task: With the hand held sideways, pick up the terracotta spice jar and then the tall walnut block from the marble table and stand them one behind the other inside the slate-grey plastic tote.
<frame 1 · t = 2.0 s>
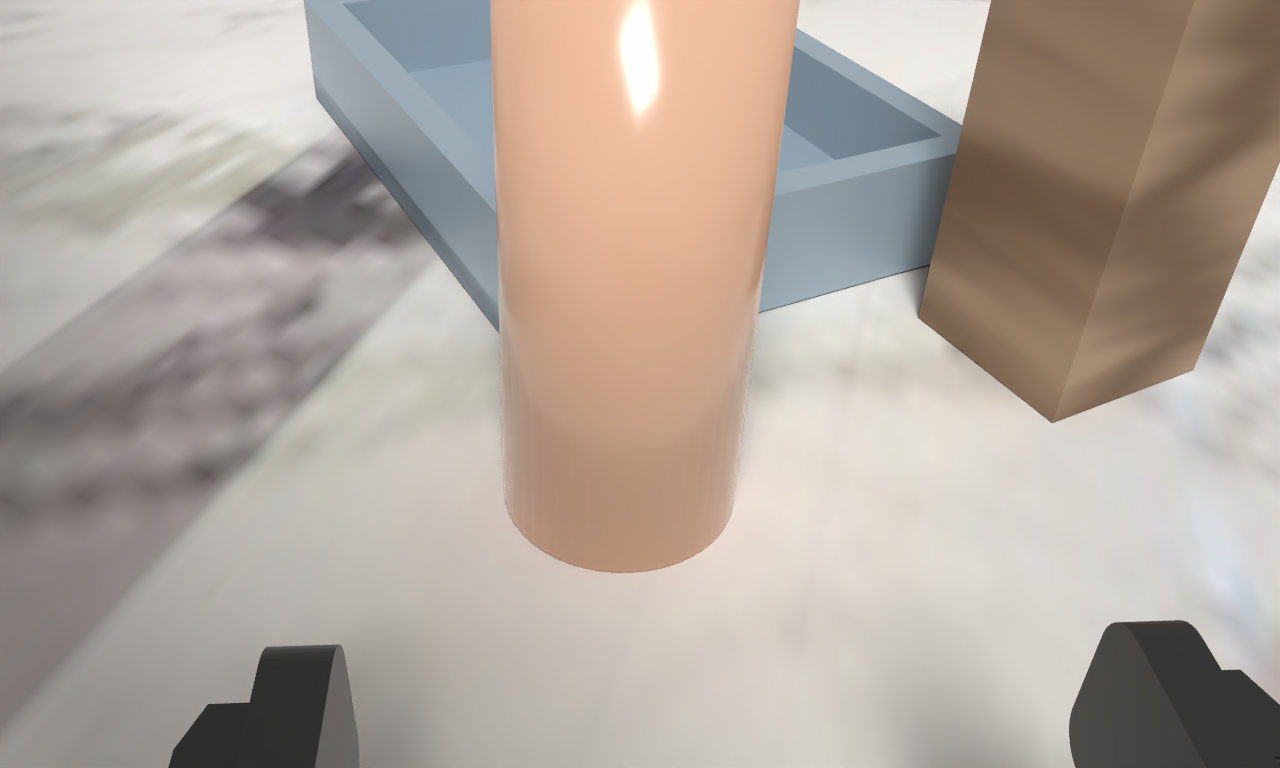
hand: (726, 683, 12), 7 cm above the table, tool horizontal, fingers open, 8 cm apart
tote: (613, 168, 38), on the table
terracotta jar: (619, 488, 25), on the table
walnut block: (1052, 343, 31), on the table
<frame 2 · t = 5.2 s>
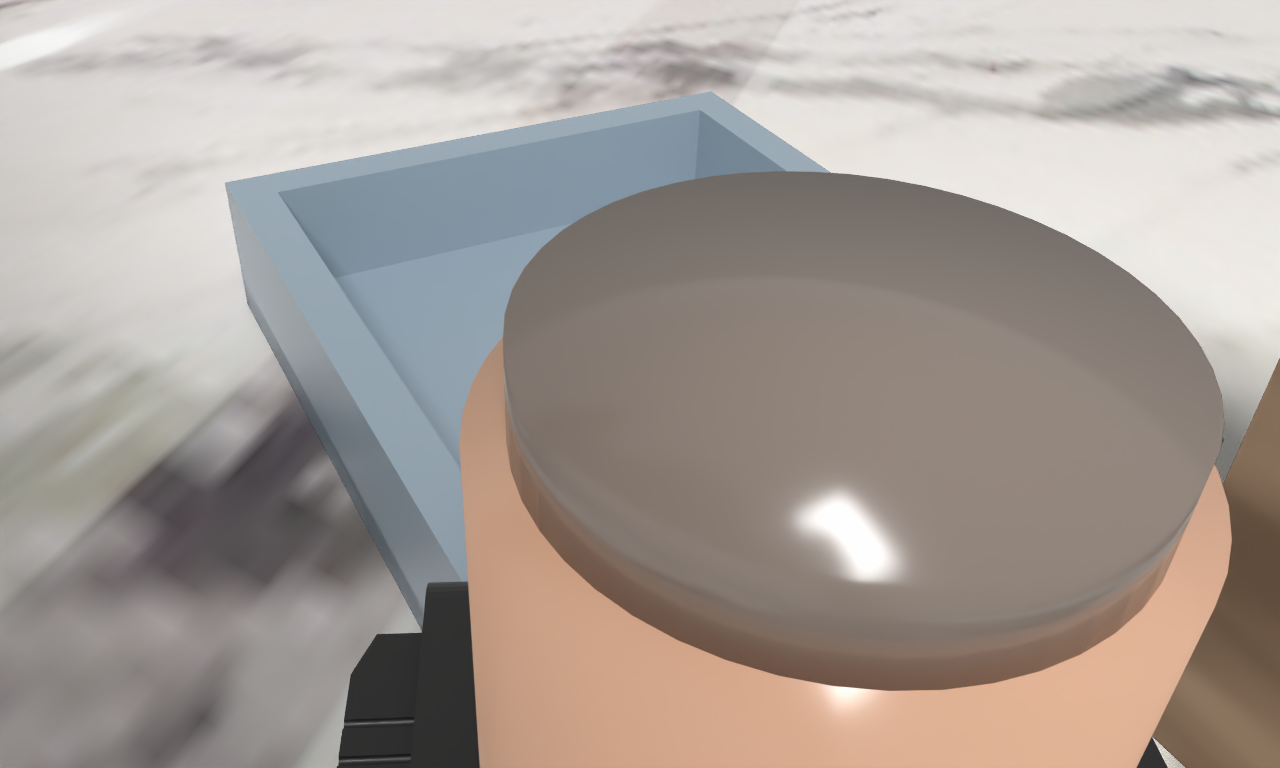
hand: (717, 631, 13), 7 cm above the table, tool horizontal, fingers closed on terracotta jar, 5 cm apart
tote: (651, 421, 27), on the table
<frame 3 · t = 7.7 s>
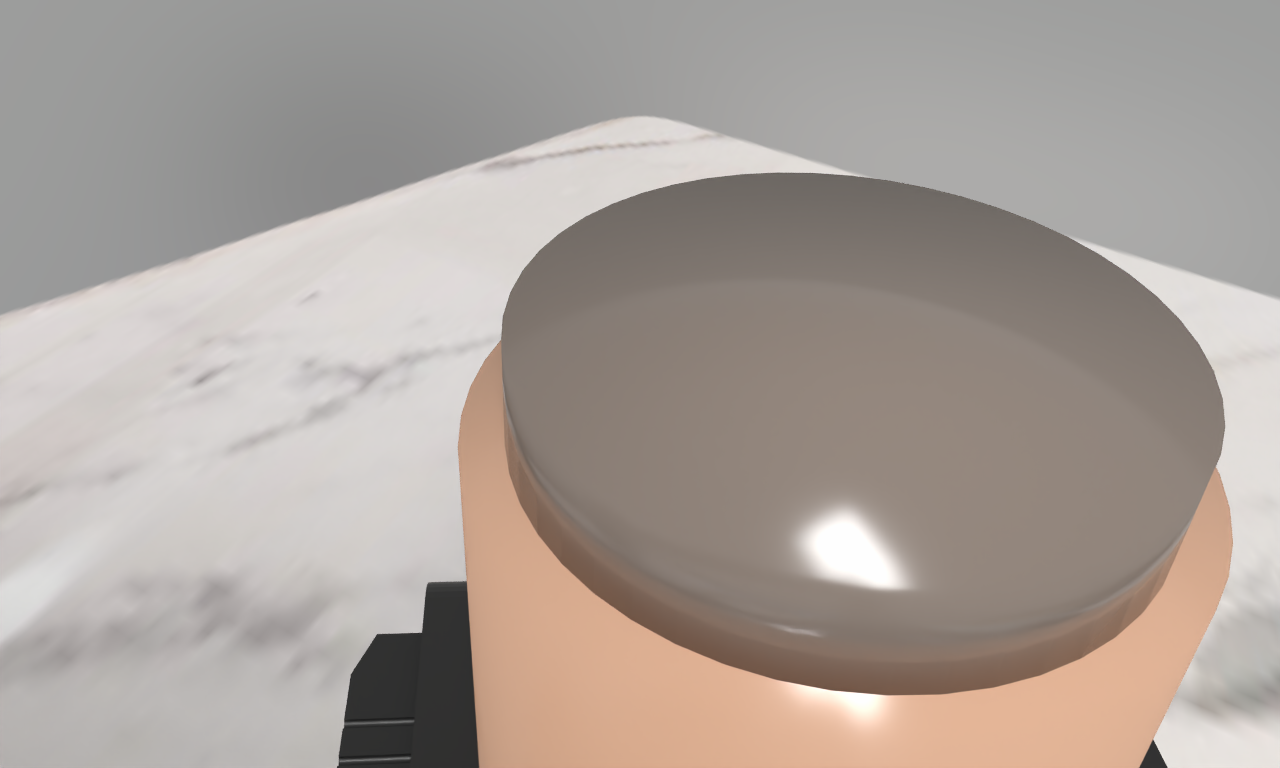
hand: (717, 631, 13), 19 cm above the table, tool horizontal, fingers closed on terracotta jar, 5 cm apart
when the fingers open (9 cm above the table, at t = 10.1 s): terracotta jar drops 1 cm, resting on tote.
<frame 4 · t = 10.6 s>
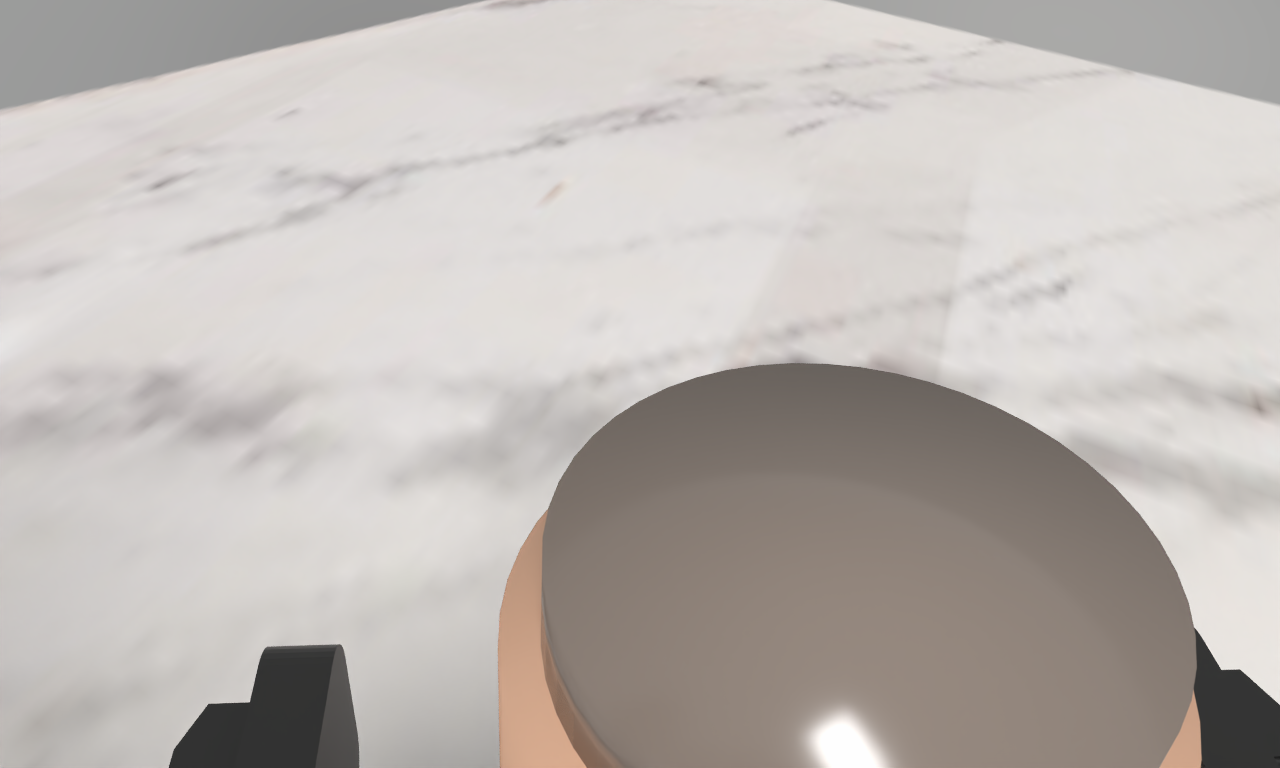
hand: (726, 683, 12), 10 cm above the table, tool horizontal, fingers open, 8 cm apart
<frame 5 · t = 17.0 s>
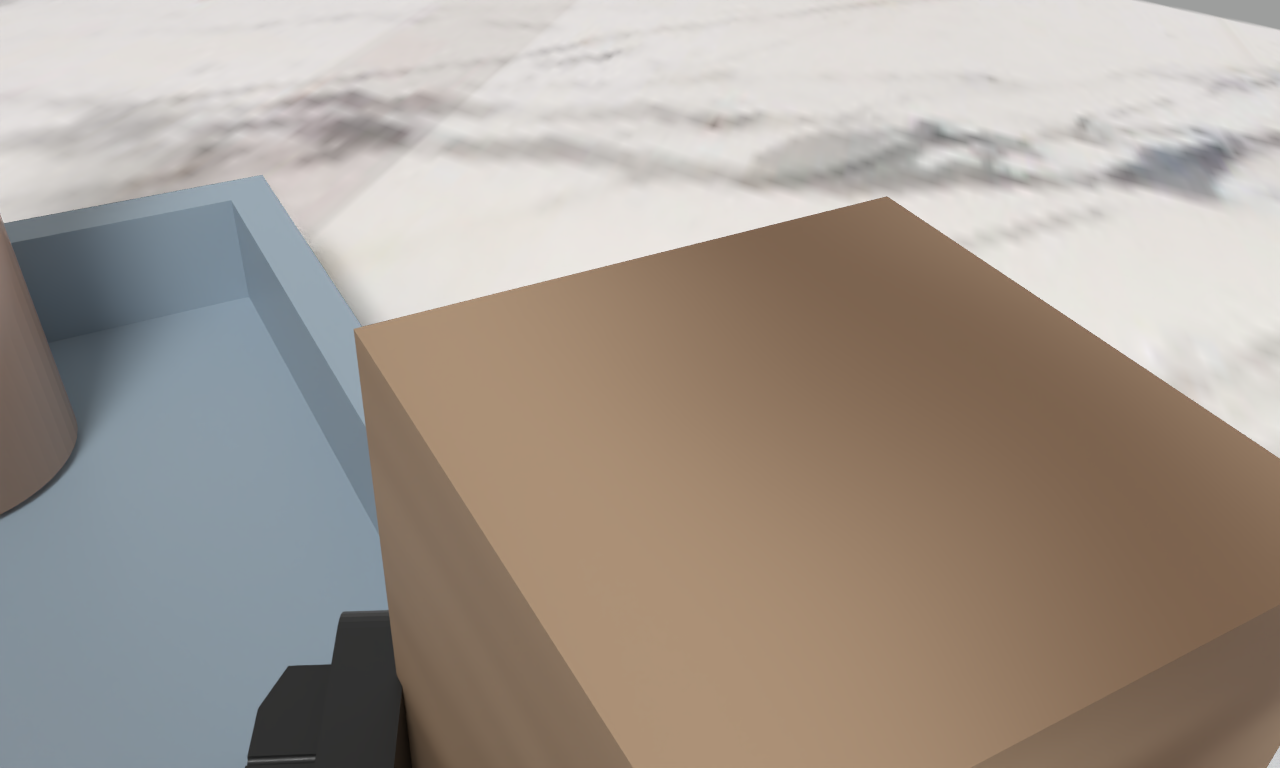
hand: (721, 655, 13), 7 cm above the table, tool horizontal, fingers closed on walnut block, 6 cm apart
tote: (43, 614, 22), on the table
when the fingers open (9 cm above the table, at t = 21.6 s): walnut block drops 2 cm, resting on tote.
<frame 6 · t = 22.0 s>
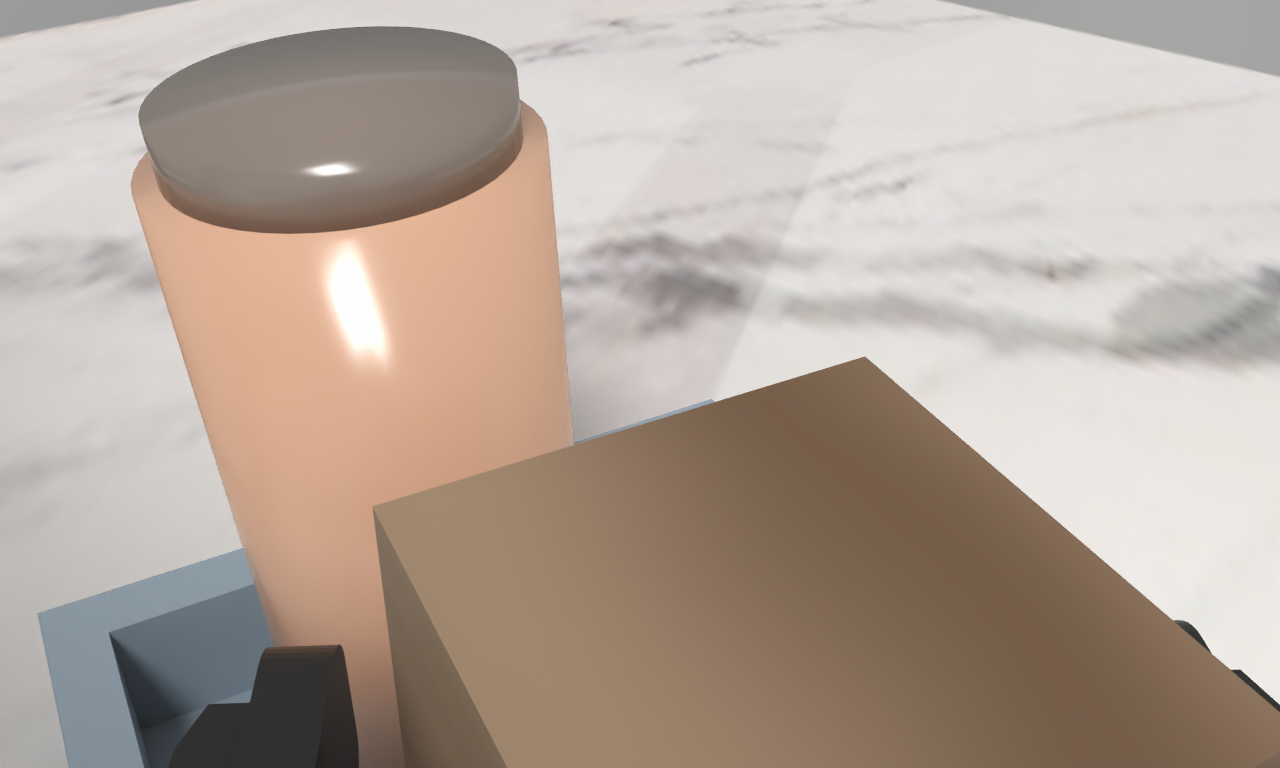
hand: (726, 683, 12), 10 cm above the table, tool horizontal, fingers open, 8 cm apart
terracotta jar: (463, 763, 21), point 1 cm above the table, touching tote
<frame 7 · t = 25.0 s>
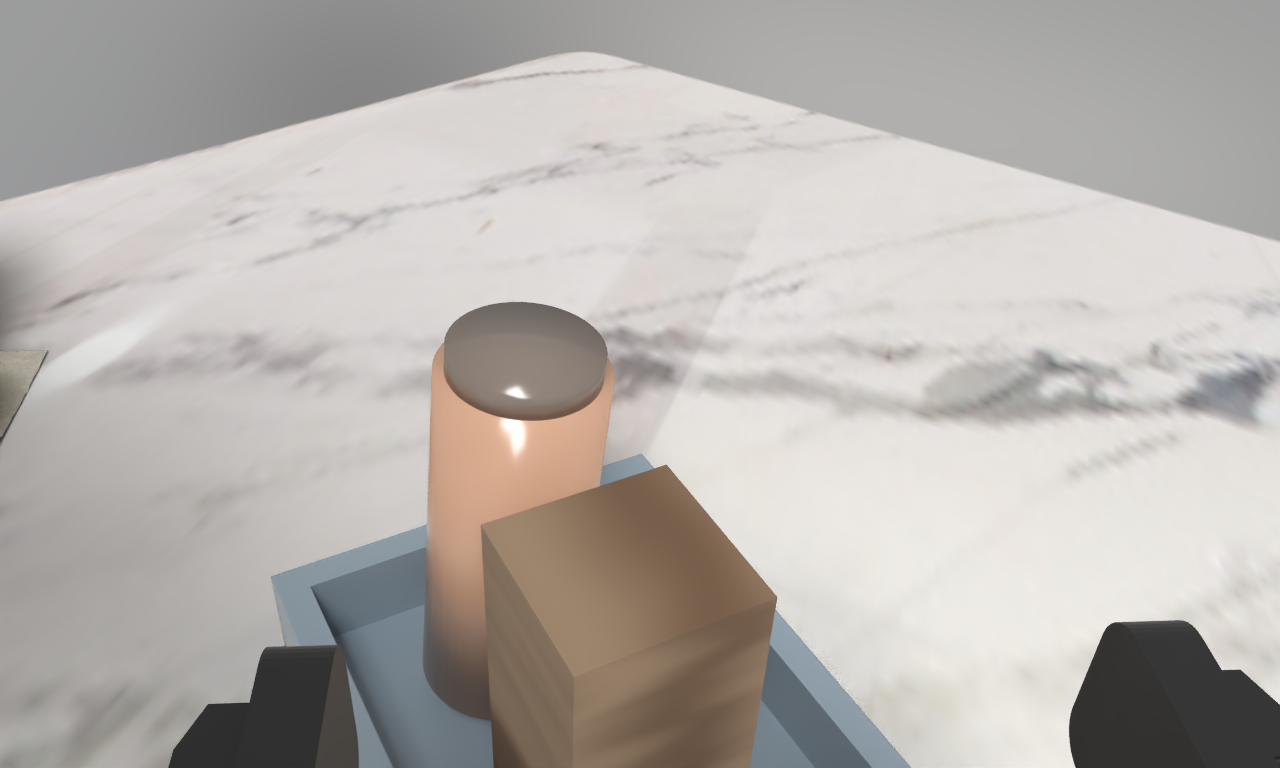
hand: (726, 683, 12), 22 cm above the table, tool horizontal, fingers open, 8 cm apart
tote: (585, 764, 37), on the table
terracotta jar: (498, 658, 39), point 1 cm above the table, tilted 5°, touching tote
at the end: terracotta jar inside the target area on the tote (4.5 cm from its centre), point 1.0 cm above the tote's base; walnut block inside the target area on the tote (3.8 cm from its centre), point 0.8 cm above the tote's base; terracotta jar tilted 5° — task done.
